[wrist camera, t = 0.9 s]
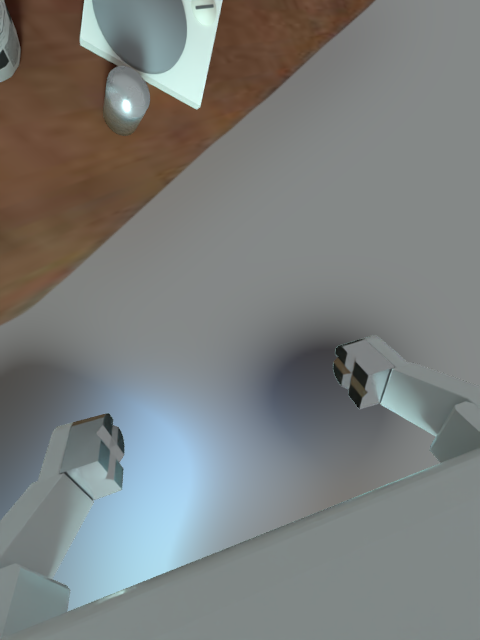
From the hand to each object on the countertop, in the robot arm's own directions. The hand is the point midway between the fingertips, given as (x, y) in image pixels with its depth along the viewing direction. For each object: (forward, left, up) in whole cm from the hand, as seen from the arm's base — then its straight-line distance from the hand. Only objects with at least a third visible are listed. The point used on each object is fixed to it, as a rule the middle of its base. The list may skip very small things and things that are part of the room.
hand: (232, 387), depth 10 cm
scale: (-1, +28, -36) cm, 46 cm away
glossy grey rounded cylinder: (-3, +17, -36) cm, 40 cm away
